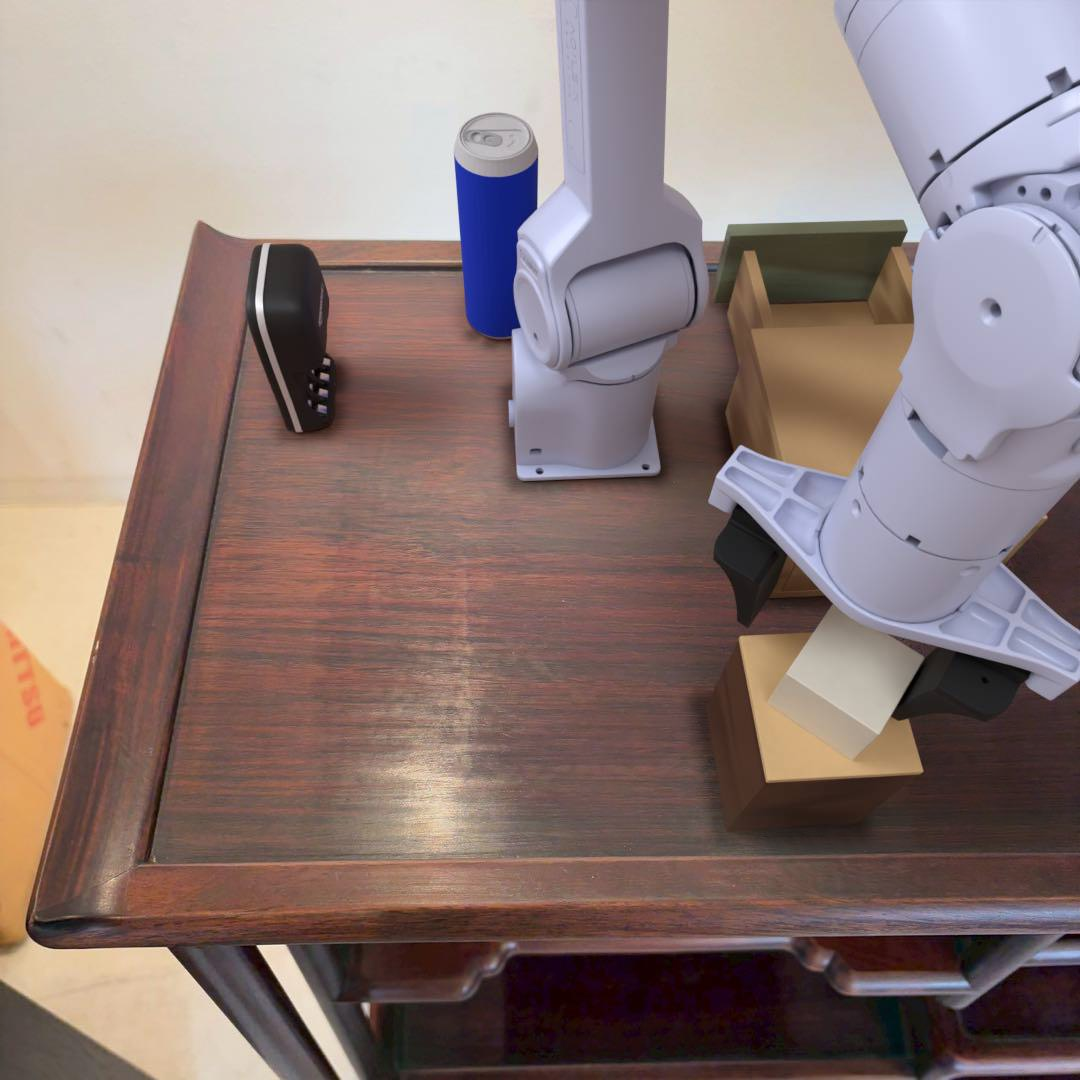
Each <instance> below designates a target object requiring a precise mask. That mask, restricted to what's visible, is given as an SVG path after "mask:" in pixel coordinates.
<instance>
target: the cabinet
mask: <svg viewBox="0 0 1080 1080" xmlns="http://www.w3.org/2000/svg"><path fill="white" fill-rule="evenodd" d="M913 333H914V324H884V325H853V326H822V327H792V328H761V329H750V332H749V336H748V340H747V343H746V346H745V350H744V353H743V356H742V359H741V363H740V366H739V365H738V370H737V373H736V376H735V379H734V383H733V386H732V389H731V393H730V395H729V399H728V403H727V406H726V409H725V412H724V413H725V417H726V423H727V427H728V432H729V437H730V441H731V446H732V451H733V453H734V452H735V451H736V449H737V448H738V447H739V446H740V445H742V446H744V447H746V448H748V449H750V450H752V451H754V452H756V453H759V454H761V455H763V456H766V457H769V458H772V459H775V460H779V461H782V462H786V463H790V464H794V465H798V466H803V467H807V468H811V469H815V470H820V471H824V472H828V473H832V474H837V475H841V476H845V477H849V476H850V474H851V472H852V470H853V468H854V467H855V465H856V463H857V461H858V459H859V457H860V456H861V454H862V452H863V450H864V449H865V447H866V445H867V443H868V441H869V440H870V438H871V436H872V434H873V432H874V430H875V429H876V427H877V425H878V423H879V421H880V419H881V417H882V416H883V414H884V412H885V410H886V408H887V406H888V405H889V403H890V401H891V399H892V397H893V395H894V394H895V392H896V390H897V388H898V386H899V384H900V383H901V381H902V379H903V377H902V374H901V373H900V372H899V367H900V365H901V363H902V361H903V359H904V357H905V355H906V353H907V351H908V350H909V347H910V345H911V342H912V339H913ZM1048 519H1049V518H1048V515H1047V514H1046V515H1045V516H1044V517H1043V518H1042V519H1041V520H1040V521H1039V522H1038V523H1037V525H1036V526H1035V527H1034V528H1033V529H1032V530H1031V531H1030V532H1029V533H1028V534H1027V535H1026V536H1025V537H1024V538H1023V540H1022V541H1021V542H1019V543H1018V544H1017V545H1016V547H1015V548H1014V549H1013V550H1012V551H1011V552H1010V553H1009V554H1008V555H1007V556H1006V557H1005V559H1004V560H1003V561H1002V562H1001V563H1003V564H1004V565H1006V563H1008V562H1009V560H1010V559H1011V558H1012V557H1013V556H1014V555H1015V554H1016V553H1017V552H1018V551H1019V550H1020V549H1021V548H1022V547H1023V545H1024V544H1026V542H1027V541H1029V539H1030V538H1031V537H1032V536H1033V535H1034V534H1035V533H1036V532H1037V531H1038V530H1039V528H1040V527H1041V526H1042V525H1043V524H1044V523H1045V522H1046V521H1047V520H1048ZM803 597H805V598H806V597H826V596H825V594H824V593H823V592H822V591H821V590H820V589H819V588H818V587H817V586H816V585H815V584H814V583H813V582H812V581H811V579H810V578H809V577H808V576H807V575H806V574H805V573H804V572H803V571H802V570H801V569H800V568H799V567H798V566H797V564H796V563H795V562H794V561H793V560H792V559H791V558H790V557H789V556H787V558H786V561H785V564H784V566H783V569H782V572H781V574H780V577H779V579H778V582H777V584H776V586H775V588H774V590H773V592H772V593H771V595H770V597H769V599H781V598H803Z"/></svg>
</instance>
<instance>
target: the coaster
mask: <svg viewBox="0 0 1080 1080" xmlns="http://www.w3.org/2000/svg"><path fill="white" fill-rule="evenodd" d="M813 632H814V631H812V632H810V631H809V632H791V633H771V634H750V635H749V634H747V635H740V636H739V637H738V640H739V644H740V649H741V654H742V660H743V665H744V670H745V675H746V680H747V686H748V691H749V696H750V701H751V706H752V712H753V717H754V722H755V727H756V732H757V738H758V743H759V748H760V753H761V758H762V764H763V769H764V774H765V779H766V783H773V782H791V781H809V780H827V779H845V778H863V777H881V776H899V775H917V774H920V775H921V774H923V773H924V768H923V764H922V762H921V761H922V760H921V758H920V753H919V750H918V746H917V744H916V741H915V737H914V733H913V730H912V726H911V723H910V718H909V719H905V720H901V721H897V720H896V719H894V718H892V717H890V718H889V720H888V722H887V723H886V725H885V727H884V729H883V730H882V732H881V734H880V735H879V736H878V737H877V738H876V739H875V740H874V741H873V742H872V743H871V744H869V745H868V746H867V747H866V748H865V749H864V750H863V751H862V752H861V753H860V754H859V755H858V756H857V757H856V758H855V759H854V760H853V761H852V760H850V759H848V758H847V757H845V756H844V755H842V754H841V753H839V752H838V751H836V750H835V749H833V748H832V747H831V746H829V745H828V744H826V743H825V742H823V741H822V740H820V739H819V738H817V737H816V736H814V735H813V734H811V733H810V732H808V731H807V730H805V729H804V728H802V727H801V726H799V725H798V724H797V723H795V722H794V721H792V720H791V719H789V718H788V717H786V716H785V715H783V714H782V713H780V712H779V711H777V710H776V709H774V708H773V707H771V706H770V705H768V704H767V701H768V700H769V698H770V697H771V695H772V694H773V692H774V691H775V689H776V688H777V686H778V685H779V683H780V682H781V680H782V678H783V677H784V675H785V674H786V672H787V671H788V669H789V668H790V666H791V665H792V663H793V662H794V661H795V659H796V658H797V656H798V655H799V653H800V652H801V650H802V649H803V647H804V646H805V644H806V643H807V641H808V640H809V638H810V637H811V635H812V634H813Z"/></svg>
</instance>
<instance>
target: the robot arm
mask: <svg viewBox="0 0 1080 1080" xmlns="http://www.w3.org/2000/svg"><path fill="white" fill-rule="evenodd" d="M554 7H555V8H554V10H555V12H554V13H555V27H556V28H555V29H556V30H555V31H556V47H557V63H558V66H557V67H558V80H559V81H558V85H559V86H558V87H559V103H560V120H561V140H562V155H563V156H562V157H563V160H562V161H563V176H564V179H563V181H562V182H561V184H560V185H559V186H558V187H557V188H556V189H555V190H554V191H553V193H551V194H550V195H549V196H548V198H546V199H545V201H543V202H542V203H541V205H540V206H539V207H537V210H536V211H535V212H534V213H533V214H532V215H531V216H530V217H529V218H528V219H527V220H526V221H525V222H524V223H523V224H522V225H521V227H520V228H519V229H518V232H517V233H518V243H517V271H516V275H515V278H514V300H515V306H516V311H517V315H518V319H519V323H520V326H521V328H518V329H513V330H512V338H511V383H512V385H511V386H512V387H511V388H512V390H511V394H512V395H511V396H512V397H511V398H512V399H508V402H507V404H508V405H507V406H508V427H509V428H513V429H514V430H513V431H514V446H515V447H514V448H515V466H516V477H517V478H518V480H519V481H522V482H533V481H534V482H535V481H537V482H538V481H556V480H557V481H558V480H559V481H560V480H584V479H609V478H611V479H612V478H634V477H655V476H658V475H659V474H660V473H661V470H662V469H661V468H662V466H661V460H660V459H661V458H660V454H659V447H658V441H657V436H656V429H655V422H654V416H653V413H654V408H655V403H656V397H657V391H658V386H659V382H660V381H659V380H660V376H661V370H662V367H663V361H664V355H665V353H666V352H667V351H669V350H671V349H672V348H674V347H676V346H678V340H679V335H680V331H683V330H687V329H693V328H694V327H696V326H698V325H699V324H700V323H701V320H703V317H704V315H705V312H706V308H707V304H708V302H709V297H710V296H709V295H710V278H709V277H710V276H709V270H708V265H707V261H706V258H705V254H704V242H703V219H702V216H701V215H700V214H699V212H698V211H697V209H696V208H695V206H694V205H693V204H692V202H690V200H689V199H687V197H686V196H684V194H683V193H681V192H680V191H679V190H677V189H676V188H674V187H673V186H671V185H669V184H667V183H665V156H666V155H665V151H666V149H665V148H666V118H667V116H666V115H667V87H668V86H667V83H668V81H667V80H668V51H669V20H670V19H669V18H670V17H669V15H670V14H669V13H670V0H554ZM832 11H833V16H834V20H835V22H836V25H837V27H838V29H839V31H840V33H841V36H842V37H843V40H844V42H845V44H846V46H847V48H848V51H849V52H850V55H851V57H852V59H853V61H854V64H855V66H856V68H857V71H858V73H859V75H860V78H861V80H862V82H863V84H864V86H865V89H866V91H867V93H868V95H869V98H870V100H871V102H872V104H873V106H874V108H875V111H876V113H877V115H878V117H879V119H880V121H881V124H882V126H883V128H884V131H885V133H886V135H887V137H888V139H889V142H890V144H891V146H892V148H893V150H894V152H895V155H896V157H897V159H898V161H899V163H900V166H901V169H902V170H903V173H904V175H905V177H906V179H907V182H908V184H909V186H910V188H911V191H912V192H913V194H914V197H915V199H916V201H917V204H918V205H919V208H920V211H921V212H922V215H923V216H924V219H925V222H926V223H927V225H928V228H926V229H924V230H923V233H922V236H921V238H920V240H919V243H918V246H917V250H916V253H915V258H914V262H913V268H912V272H913V276H912V304H913V313H914V333H913V339H912V342H911V345H910V347H909V350H908V351H907V353H906V355H905V357H904V359H903V361H902V363H901V365H900V367H899V372H900V373H901V374H902V377H903V379H902V381H901V383H900V384H899V386H898V388H897V390H896V392H895V394H894V395H893V397H892V399H891V401H890V403H889V405H888V406H887V408H886V410H885V412H884V414H883V416H882V417H881V419H880V421H879V423H878V425H877V427H876V429H875V430H874V432H873V434H872V436H871V438H870V440H869V441H868V443H867V445H866V447H865V449H864V450H863V452H862V454H861V456H860V457H859V459H858V461H857V463H856V465H855V467H854V468H853V470H852V472H851V474H850V476H849V477H845V476H841V475H837V474H832V473H828V472H824V471H820V470H815V469H811V468H807V467H803V466H798V465H794V464H790V463H786V462H782V461H779V460H775V459H772V458H769V457H766V456H763V455H761V454H759V453H756V452H754V451H752V450H750V449H748V448H746V447H744V446H742V445H740V446H739V447H738V448H737V449H736V451H735V452H734V451H733V453H732V454H731V456H730V457H729V458H728V459H727V461H726V462H725V464H723V466H722V468H721V469H720V470H719V472H718V473H717V474H716V476H715V479H714V481H713V485H712V488H711V492H710V495H709V498H708V501H707V503H708V504H709V505H711V506H713V507H714V508H716V509H718V510H720V511H722V512H723V513H726V514H731V516H730V517H729V518H728V520H727V523H726V525H725V526H724V527H723V528H722V530H721V531H720V533H718V535H717V537H716V539H715V541H714V546H713V553H712V560H713V561H714V562H715V563H716V564H717V565H718V566H719V567H720V568H721V570H722V571H723V572H724V574H725V575H726V577H727V579H728V581H729V583H730V585H731V588H732V590H733V594H734V599H735V607H736V608H735V609H736V622H737V623H739V624H740V625H742V626H744V627H745V628H747V629H749V628H750V627H751V625H752V624H753V622H754V621H755V620H756V618H757V617H758V615H759V613H760V612H761V610H762V609H763V608H764V606H765V604H766V603H767V602H768V600H769V599H770V598H769V597H770V595H771V593H772V592H773V590H774V588H775V586H776V584H777V582H778V579H779V577H780V574H781V572H782V569H783V566H784V564H785V561H786V558H787V556H789V557H790V558H791V559H792V560H793V561H794V562H795V563H796V564H797V566H798V567H799V568H800V569H801V570H802V571H803V572H804V573H805V574H806V575H807V576H808V577H809V578H810V579H811V581H812V582H813V583H814V584H815V585H816V586H817V587H818V588H819V589H820V590H821V591H822V592H823V593H824V594H825V596H824V597H826V598H827V599H828V600H829V601H830V602H831V603H832V604H834V605H835V606H836V607H837V608H838V609H839V610H840V611H842V612H843V613H844V614H846V615H847V616H848V617H850V618H851V619H853V620H855V621H856V622H858V623H860V624H862V625H864V626H866V627H869V628H871V629H873V630H877V631H880V632H883V633H886V634H888V635H890V636H895V637H898V638H902V639H905V640H906V639H907V640H910V641H915V642H918V643H922V644H926V645H930V646H934V647H936V648H935V649H933V650H932V651H931V652H930V653H929V654H927V655H926V656H924V657H925V660H924V661H923V663H922V665H921V666H920V668H919V670H918V671H917V673H916V675H915V676H914V678H913V680H912V681H911V683H910V685H909V686H908V688H907V690H906V692H905V693H904V695H903V697H902V698H901V700H900V702H899V703H898V705H897V707H896V708H895V710H894V712H893V713H892V715H891V717H892V718H894V719H896V720H897V721H901V720H905V719H909V720H910V719H912V718H916V717H921V716H927V715H934V714H935V715H936V714H937V715H938V714H947V715H948V714H949V715H958V716H964V717H967V718H968V717H969V718H972V719H975V720H977V721H980V722H983V723H987V722H989V721H991V720H993V719H995V718H998V717H999V716H1001V715H1002V714H1003V713H1004V712H1006V711H1007V710H1008V709H1009V707H1010V706H1011V705H1012V703H1013V700H1014V699H1015V697H1016V695H1017V692H1018V690H1019V689H1020V686H1021V685H1022V684H1023V683H1024V684H1025V685H1026V687H1027V688H1028V689H1030V690H1031V691H1033V692H1034V693H1037V694H1038V695H1039V696H1041V697H1043V698H1044V699H1046V700H1048V701H1051V702H1052V701H1054V699H1056V698H1058V697H1059V696H1061V695H1062V694H1063V693H1065V692H1066V691H1067V690H1069V689H1070V688H1071V687H1073V686H1074V685H1076V684H1078V683H1079V682H1080V629H1079V628H1077V627H1075V626H1074V625H1072V624H1071V623H1070V622H1068V621H1067V620H1065V619H1064V618H1063V617H1062V616H1060V615H1059V614H1058V613H1057V612H1055V611H1054V609H1052V608H1051V607H1050V606H1049V605H1048V604H1047V603H1045V602H1044V601H1043V600H1042V599H1041V598H1040V597H1039V596H1038V595H1037V594H1036V593H1035V592H1034V591H1033V590H1032V589H1030V588H1029V586H1028V585H1026V584H1025V583H1024V582H1023V581H1022V580H1021V579H1020V578H1018V576H1017V575H1015V573H1013V572H1012V571H1011V570H1010V569H1009V568H1008V567H1007V566H1006V564H1003V563H1001V562H1002V561H1003V560H1004V559H1005V557H1006V556H1007V555H1008V554H1009V553H1010V552H1011V551H1012V550H1013V549H1014V548H1015V547H1016V545H1017V544H1018V543H1019V542H1021V541H1022V540H1023V538H1024V537H1025V536H1026V535H1027V534H1028V533H1029V532H1030V531H1031V530H1032V529H1033V528H1034V527H1035V526H1036V525H1037V523H1038V522H1039V521H1040V520H1041V519H1042V518H1043V517H1044V516H1045V515H1047V514H1048V513H1049V512H1050V511H1051V509H1053V508H1054V507H1055V505H1057V503H1058V502H1059V501H1060V500H1061V499H1062V498H1063V497H1064V496H1065V495H1066V494H1067V493H1068V492H1069V490H1070V489H1071V488H1072V487H1073V486H1074V485H1075V484H1076V483H1077V482H1078V481H1079V480H1080V0H833V10H832ZM644 468H646V469H644ZM539 472H541V473H539Z"/></svg>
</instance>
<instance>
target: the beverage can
mask: <svg viewBox="0 0 1080 1080" xmlns="http://www.w3.org/2000/svg"><path fill="white" fill-rule="evenodd" d="M453 160H454V173H455V175H454V176H455V187H456V188H455V189H456V200H457V201H456V202H457V213H458V227H459V239H460V252H461V253H460V255H461V265H462V278H463V290H464V291H463V292H464V301H465V302H464V305H465V315H466V319H467V322H468V323H469V325H470V327H472V329H474V330H475V331H476V332H478V333H479V334H481V335H482V336H484V337H486V338H489V339H492V340H493V339H494V340H508V339H509V340H510V339H512V330H513V329H518V328H521V326H520V323H519V319H518V315H517V311H516V306H515V300H514V278H515V275H516V271H517V243H518V233H517V232H518V229H519V228H520V227H521V225H522V224H523V223H524V222H525V221H526V220H527V219H528V218H529V217H530V216H531V215H532V214H533V213H534V212H535V211H536V210H537V209H538V200H539V199H538V194H539V191H538V190H539V145H538V142H537V139H536V137H535V133H534V131H533V129H532V126H531V125H530V124H529V123H528V122H527V121H526V120H524V119H522V117H519V116H517V115H515V114H511V113H508V112H499V111H498V112H497V111H494V112H493V111H492V112H485V113H480V114H478V115H474V116H472V117H471V118H469V119H467V120H466V121H465V122H464V123H463V124H462V125H461V126H460V127H459V129H458V132H457V134H456V138H455V143H454V147H453Z"/></svg>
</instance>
